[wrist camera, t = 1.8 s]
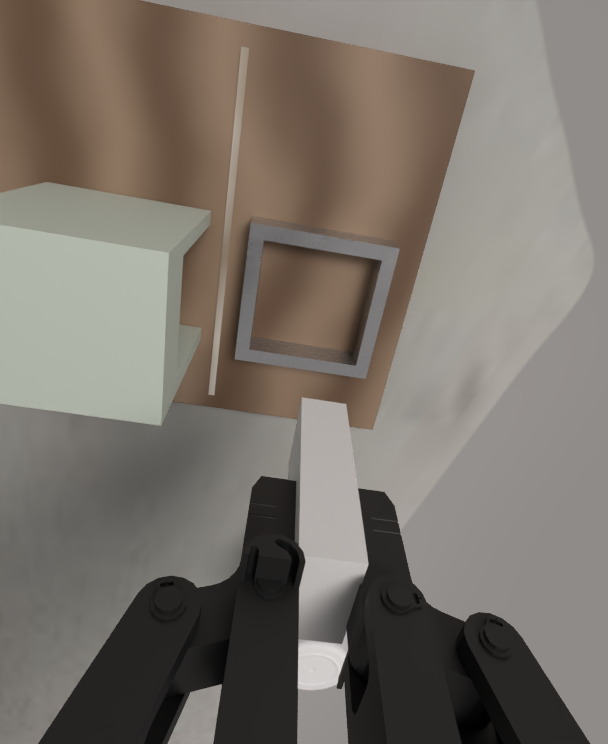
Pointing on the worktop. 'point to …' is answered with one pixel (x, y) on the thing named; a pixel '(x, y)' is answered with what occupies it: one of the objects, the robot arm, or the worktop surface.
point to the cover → (94, 301)
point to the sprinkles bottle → (320, 663)
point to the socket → (307, 354)
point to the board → (240, 169)
